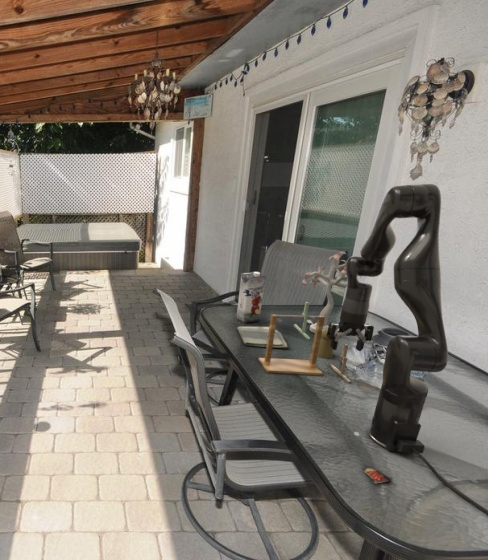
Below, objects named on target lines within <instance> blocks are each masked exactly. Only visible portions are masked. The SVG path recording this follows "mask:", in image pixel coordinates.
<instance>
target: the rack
mask: <svg viewBox="0 0 488 560" xmlns="http://www.w3.org/2000/svg"><path fill="white" fill-rule="evenodd" d="M319 315H320V314H319ZM319 315H308V318H307V320H316V323H317V325H316V331H315V333H314V336H313V341H312V348H311V352H310V359H297V358H295V359H294V358H273V357H272V354H273V348H272V347H273V341H274V334H275V330H276V327H277V321H278V319H293V320H294V319H296V320H299V319H301V320H304V316H302V315H297V314H295V315H292V314H291V315H289V314H274V313H273V314H271V315H270V321H269V326H268V327H269V334H268V341H267V347H265V348H266V349H265V356H264V357H258V361H259V362H260V364H261V365H262V367H263V368H264V370H265V371H266V373H269V374H286V375H287V374H289V375H292V374H293V375H308V376H311V375H312V376H323V372H322V371H321V370H320V369H319V367H317V365H316V364H317V360H318V350H319V345H320V340H321V338H322V337H321V335H322V330H323V325H324V319H325V317H324V316H319Z"/></svg>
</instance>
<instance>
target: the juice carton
mask: <svg viewBox="0 0 488 560" xmlns="http://www.w3.org/2000/svg"><path fill="white" fill-rule="evenodd" d="M266 278H267V275H266V274H263V273H261V272H259V271H251V272H241V273H240V283H239V292H238V300H237V310H236V319H237V320H239V321H241V322H242V323H245V324H250V323H255V322H259V321H260V318H261V312H262V305H263V297H264V290H265V283H266Z"/></svg>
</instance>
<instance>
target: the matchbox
mask: <svg viewBox="0 0 488 560" xmlns="http://www.w3.org/2000/svg"><path fill="white" fill-rule="evenodd" d="M363 471H364V473H365V474H367V476H368V477H370V479H372V482H373V483H374V484H376V485H378V483H379V484H381V483H386V482H389V481H391V480H392V478H390V477H389V476H388V475H387V474H385V473H384V472H382V471H380V470H378V469H374V468H372V467H367V468H365V470H363Z"/></svg>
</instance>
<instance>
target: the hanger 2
mask: <svg viewBox="0 0 488 560" xmlns="http://www.w3.org/2000/svg"><path fill="white" fill-rule="evenodd" d="M342 349H343V350H342V354H340V356H339V360H340V361H342V364H341V369H338V368H337V367H336V366H335V365H334V364H330V367H331V368H332V369H333V371H334V372H336V373H337V374H338V375H339V376H340V377H341V378H342V379H343V380H344V381H345V382H346V383H347V384H351V383H352V381H351V380H350V379H349V378H348V377H347V376H346V375H345V370H346V366H347V361H348V358H347V355H348V350H349V344H348V343H344V345H343V348H342Z"/></svg>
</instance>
